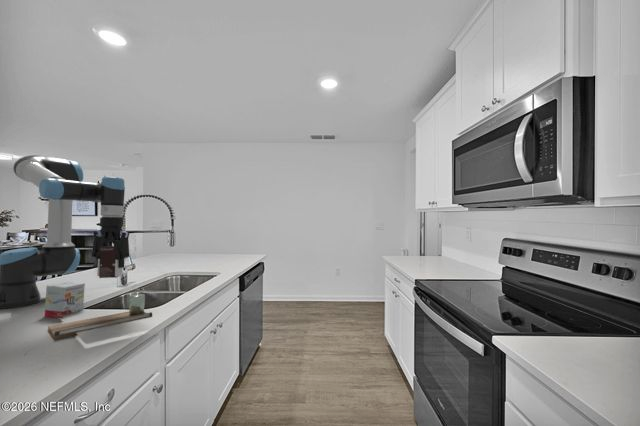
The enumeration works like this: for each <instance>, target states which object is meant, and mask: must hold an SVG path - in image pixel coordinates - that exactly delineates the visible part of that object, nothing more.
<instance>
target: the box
mask: <svg viewBox="0 0 640 426" xmlns="http://www.w3.org/2000/svg"><path fill="white" fill-rule="evenodd" d="M116 259H117V255H116V251H115V248H114V245H108V246H103V247H100V271H99V276H98V277H99V279H106V278H107V279H108V278H110V279H113V278H119V277H120V276H118V277H115V260H116Z"/></svg>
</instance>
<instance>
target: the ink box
mask: <svg viewBox="0 0 640 426" xmlns="http://www.w3.org/2000/svg"><path fill="white" fill-rule="evenodd" d="M85 286H86V283H83V282H75V281H66V282H62V283H61V282H60V283H55V284H49V285H46V290H45V291H46V292H45V304H44V318H45V317H47V318H55V319H64V317H63V316H65V315H69V314H72V313H75V312H79V311H81V310H82V311H83V310H84V304H85V303H84V301H85Z"/></svg>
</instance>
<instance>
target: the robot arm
mask: <svg viewBox="0 0 640 426" xmlns="http://www.w3.org/2000/svg"><path fill="white" fill-rule="evenodd" d="M12 168H13V172H14V174H15V176H16V177H17V178H19V179H20V180H22V181H25V182H28V183H32V184H33V185H35V186H36V187H37V188H38V191H39V193H38V194H39V195H40V197H41V198H42V199H48V206H47V207H48V208H47V209H48V211H47V213H48V214H47V233H46V242H45V244H43V245H42V246H41V247H42V248H41V250H39V249H38V248H37V247H23V248H16V249H10V250H6V251H3V252H2V253H0V309H12V308H20V307H21V308H22V307H27V306H31V305H35V304H38V303H39V302H41V300H42V299H41V294H40V290H39V288H38V286H37V278H39V277H40V278H41V277H48V276H54V275H65V274H71V273H73V272H74V271H75V270H77V268H78V267H79V265H80V261H81V252H80V250H79V249H78V248H76V245H75V244H74V243H73V242H72V229H73V228H72V225H73V223H72V222H73V221H72V220H73V202H74V201H78V202H79V201H80V202H81V201H82V202H91V203H92V202H93V203H100V216H101V217H100V218H99V227H100V230H99V231H93V243H92V249H91V257H93V258H96V267H97V271H96V272H97V275H96V276H97V277H99V271H100V247H103V246H109V243H110V242H111V243H113V246H114V248H115V251H116V255H117V259H116V260H115V277H117V278H119V277H122V276H123V268H124V266H125V259H127V258H130V247H129V246H130V245H129V242H130V241H129V237H130V232H129V231H128V232H127V231H123V226H124V218H123V216H124V215H125V213H124V211H125V208H124V207H125V189H126V187H125V179H124V178H122V177H118V176H103V177H102V178H101V182H100V183H99V182H88V181H84V171H83V168H82V165H80V163H79V162H78V161H75V160H69V159H67V158H66V159H65V158H64V159H63V158H58V157H50V156H45V155H44V156H43V155H37V154H36V155H34V154H33V155H32V154H31V155H26V156H23V157H20V158H19V159H17V160H16V161H15V163H14V164H13V167H12ZM118 276H119V277H118Z"/></svg>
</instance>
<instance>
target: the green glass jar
mask: <svg viewBox="0 0 640 426" xmlns="http://www.w3.org/2000/svg"><path fill="white" fill-rule="evenodd" d="M145 298H146V295H145V293H134V294H131V295H129V309H128V312H129V315H131V316H135V315H140V314H144V312H145V303H146V299H145Z"/></svg>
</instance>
